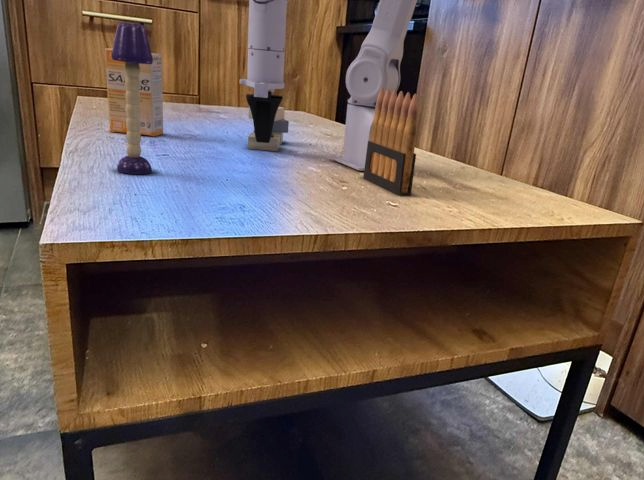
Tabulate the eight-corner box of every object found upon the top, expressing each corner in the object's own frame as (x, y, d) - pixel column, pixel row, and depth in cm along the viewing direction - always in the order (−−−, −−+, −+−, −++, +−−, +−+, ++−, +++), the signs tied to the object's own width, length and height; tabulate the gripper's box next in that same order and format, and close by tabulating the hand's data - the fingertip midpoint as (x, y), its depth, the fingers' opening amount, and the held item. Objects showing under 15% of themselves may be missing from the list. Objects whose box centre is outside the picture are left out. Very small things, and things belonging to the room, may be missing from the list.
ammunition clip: (362, 177, 85) (373, 86, 80) (374, 177, 86) (385, 87, 80) (398, 195, 76) (412, 93, 71) (411, 195, 77) (426, 94, 72)
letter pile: (286, 146, 106) (288, 108, 103) (247, 142, 106) (248, 105, 103) (288, 141, 112) (290, 105, 110) (251, 137, 112) (252, 102, 109)
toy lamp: (149, 167, 79) (143, 24, 71) (162, 174, 76) (157, 25, 68) (113, 168, 76) (102, 20, 69) (124, 175, 73) (114, 21, 66)
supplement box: (108, 132, 104) (102, 47, 98) (121, 129, 108) (116, 48, 102) (153, 137, 103) (150, 52, 97) (164, 134, 107) (162, 52, 101)
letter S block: (277, 151, 100) (278, 137, 99) (247, 148, 100) (248, 134, 99) (279, 147, 105) (280, 133, 104) (250, 144, 104) (251, 131, 103)
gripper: (245, 48, 99) (243, 134, 105) (234, 47, 86) (232, 145, 92) (288, 52, 99) (283, 137, 105) (283, 52, 86) (278, 149, 92)
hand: (262, 141), depth 99 cm, fingers closed
